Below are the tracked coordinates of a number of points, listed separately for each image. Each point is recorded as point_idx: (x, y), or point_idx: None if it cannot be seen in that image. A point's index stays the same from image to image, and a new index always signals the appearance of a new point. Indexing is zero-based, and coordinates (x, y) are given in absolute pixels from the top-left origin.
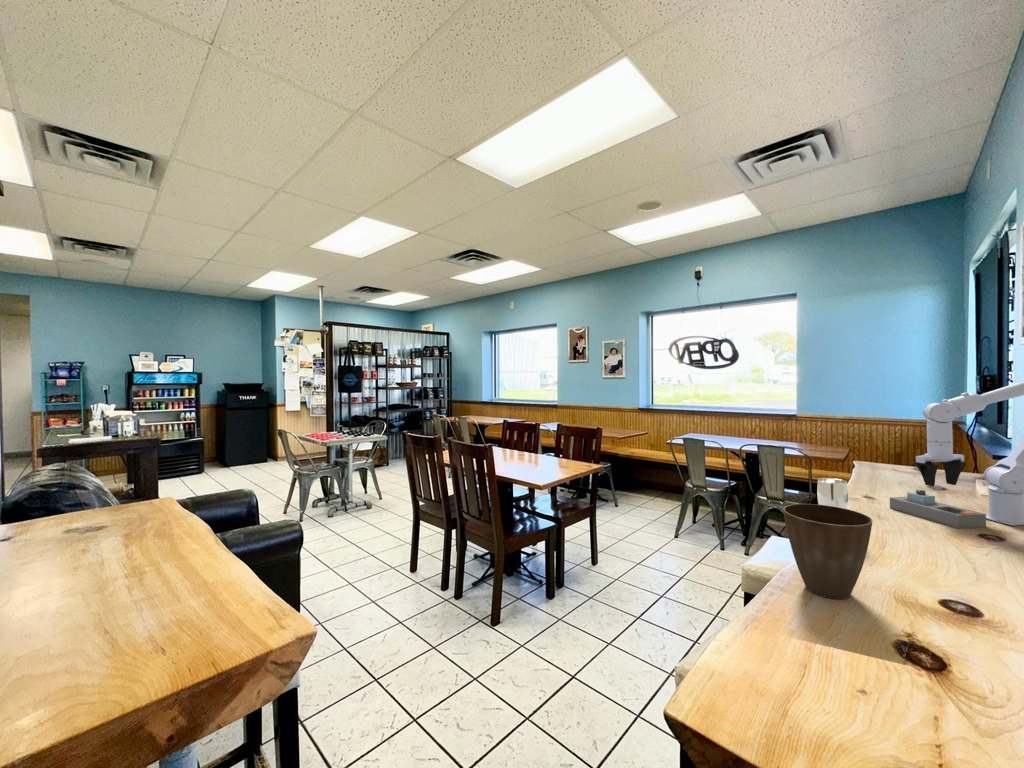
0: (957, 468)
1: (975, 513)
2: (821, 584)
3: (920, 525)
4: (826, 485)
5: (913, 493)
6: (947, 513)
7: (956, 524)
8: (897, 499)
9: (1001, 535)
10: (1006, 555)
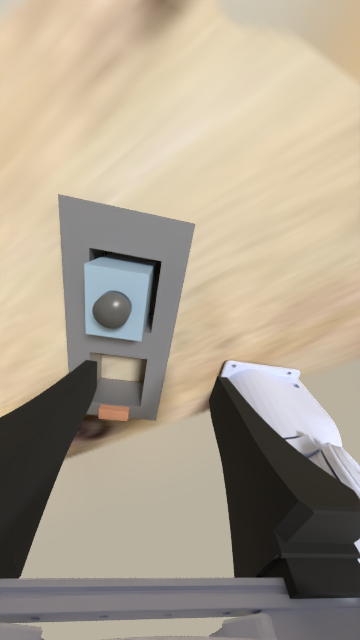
0: (231, 519)
1: (127, 419)
2: None
3: (14, 353)
4: None
5: (97, 286)
6: None
7: None
8: (63, 235)
9: (122, 426)
10: None
